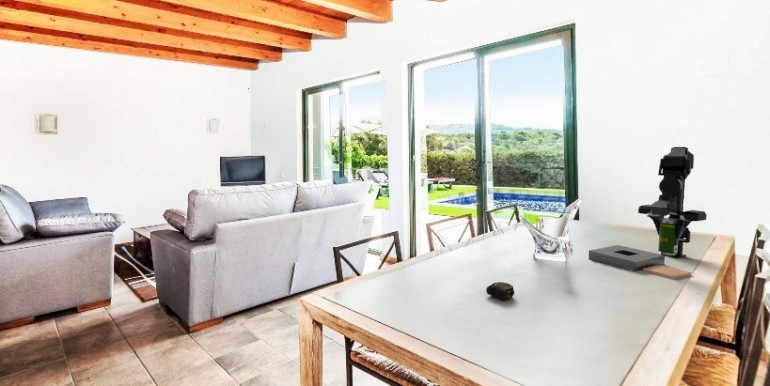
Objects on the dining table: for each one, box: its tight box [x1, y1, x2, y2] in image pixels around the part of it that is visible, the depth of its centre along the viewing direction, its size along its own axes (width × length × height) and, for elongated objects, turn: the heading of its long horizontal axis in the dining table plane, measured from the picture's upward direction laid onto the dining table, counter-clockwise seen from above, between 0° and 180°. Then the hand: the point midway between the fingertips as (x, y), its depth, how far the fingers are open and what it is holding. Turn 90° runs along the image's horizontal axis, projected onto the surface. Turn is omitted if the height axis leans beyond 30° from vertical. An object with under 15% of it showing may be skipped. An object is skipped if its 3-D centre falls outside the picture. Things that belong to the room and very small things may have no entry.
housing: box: [588, 244, 666, 273], centre depth 150 cm, size 18×18×4 cm
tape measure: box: [485, 281, 515, 301], centre depth 116 cm, size 7×7×4 cm
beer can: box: [657, 217, 678, 256], centre depth 135 cm, size 5×5×12 cm
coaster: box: [642, 265, 692, 281], centre depth 136 cm, size 10×10×1 cm
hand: (668, 237), depth 135 cm, fingers closed on beer can, 5 cm apart
